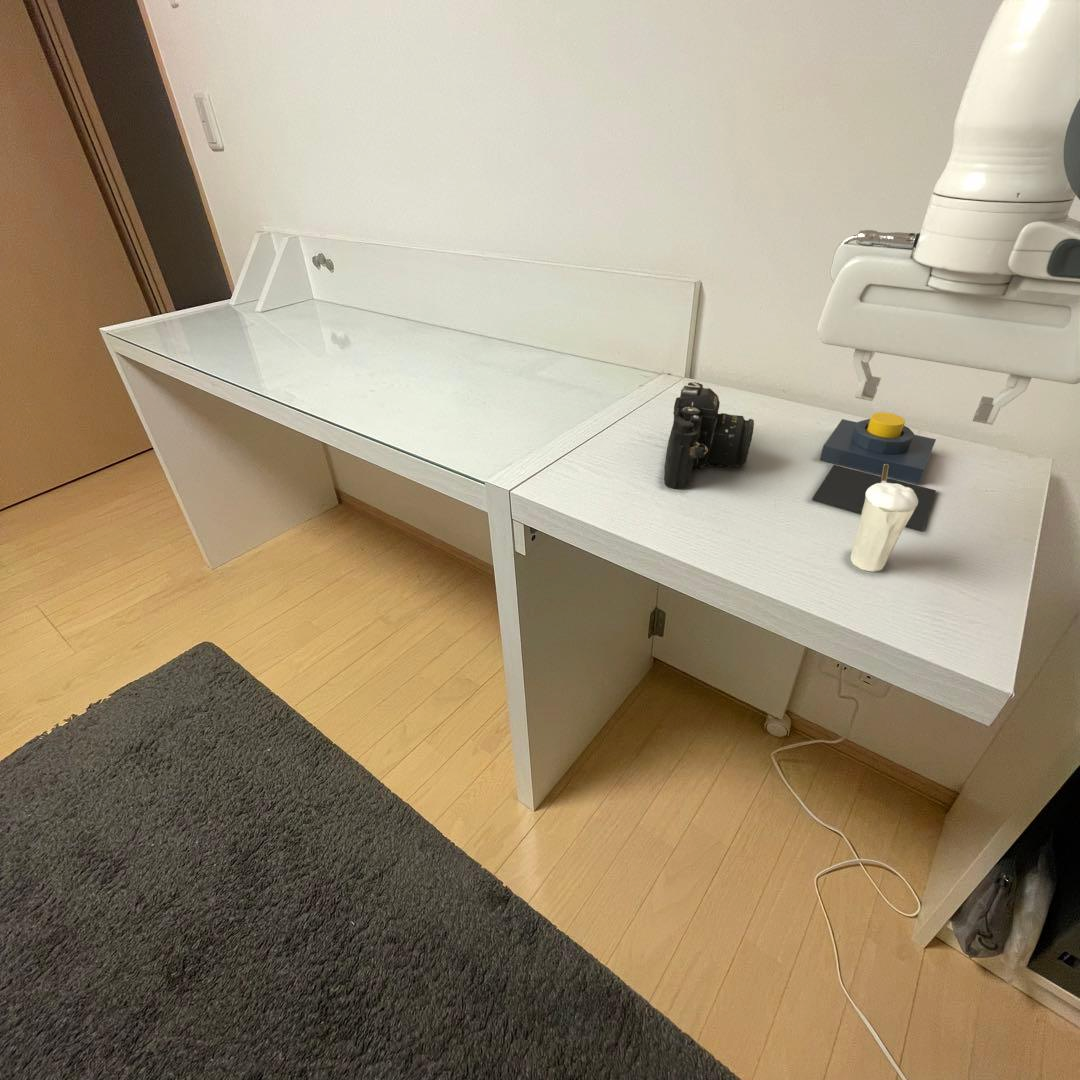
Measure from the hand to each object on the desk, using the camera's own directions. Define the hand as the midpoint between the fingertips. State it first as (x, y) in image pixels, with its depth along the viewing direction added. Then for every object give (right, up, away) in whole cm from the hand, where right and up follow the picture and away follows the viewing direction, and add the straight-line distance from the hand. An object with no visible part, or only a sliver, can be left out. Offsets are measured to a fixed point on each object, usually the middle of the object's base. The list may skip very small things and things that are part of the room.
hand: (921, 408), depth 54 cm
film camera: (-12, -1, +28) cm, 31 cm away
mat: (+7, -6, +20) cm, 22 cm away
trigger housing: (+11, 0, +28) cm, 30 cm away
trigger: (+11, +2, +26) cm, 29 cm away
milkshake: (0, -14, +10) cm, 17 cm away
